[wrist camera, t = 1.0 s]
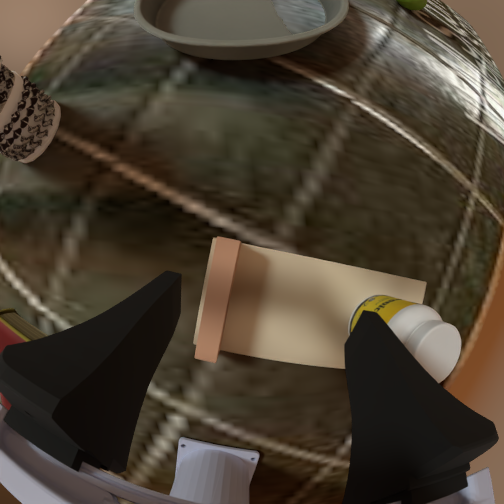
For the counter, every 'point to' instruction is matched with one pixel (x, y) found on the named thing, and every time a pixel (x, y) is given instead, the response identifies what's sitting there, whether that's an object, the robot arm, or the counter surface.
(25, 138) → the decorative candle
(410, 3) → the snail figurine
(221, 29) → the cake pan
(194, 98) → the counter surface
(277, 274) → the strip
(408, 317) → the supplement bottle
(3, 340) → the hardcover book
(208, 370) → the counter surface
